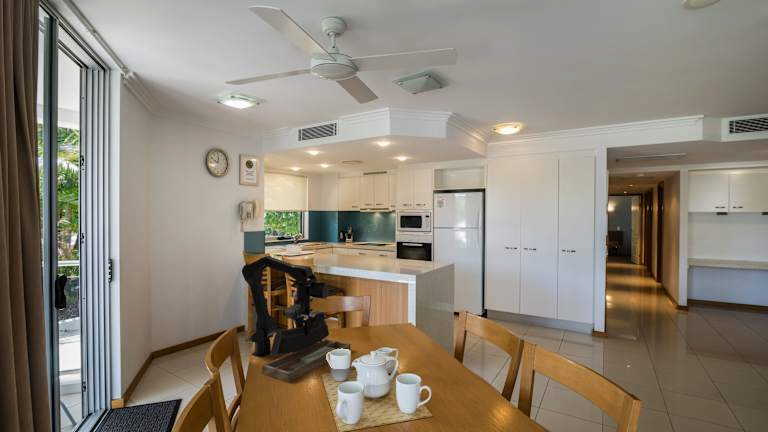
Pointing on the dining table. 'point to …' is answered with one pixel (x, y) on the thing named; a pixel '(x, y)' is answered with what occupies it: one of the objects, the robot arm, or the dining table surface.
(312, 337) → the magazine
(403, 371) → the dining table surface
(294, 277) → the robot arm
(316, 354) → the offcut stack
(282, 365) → the tray
